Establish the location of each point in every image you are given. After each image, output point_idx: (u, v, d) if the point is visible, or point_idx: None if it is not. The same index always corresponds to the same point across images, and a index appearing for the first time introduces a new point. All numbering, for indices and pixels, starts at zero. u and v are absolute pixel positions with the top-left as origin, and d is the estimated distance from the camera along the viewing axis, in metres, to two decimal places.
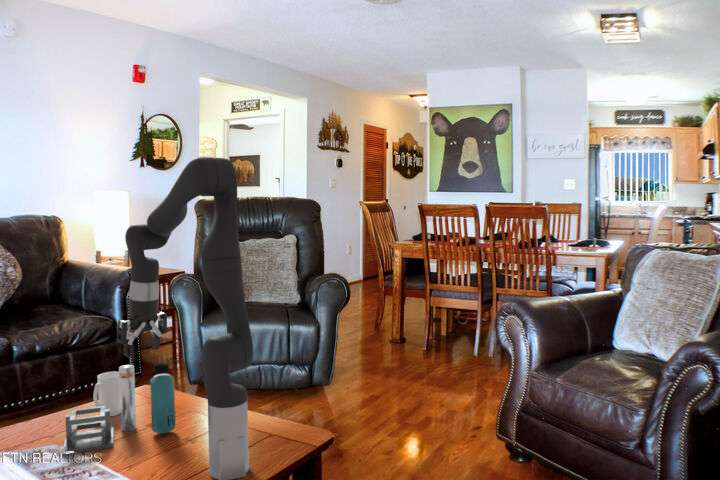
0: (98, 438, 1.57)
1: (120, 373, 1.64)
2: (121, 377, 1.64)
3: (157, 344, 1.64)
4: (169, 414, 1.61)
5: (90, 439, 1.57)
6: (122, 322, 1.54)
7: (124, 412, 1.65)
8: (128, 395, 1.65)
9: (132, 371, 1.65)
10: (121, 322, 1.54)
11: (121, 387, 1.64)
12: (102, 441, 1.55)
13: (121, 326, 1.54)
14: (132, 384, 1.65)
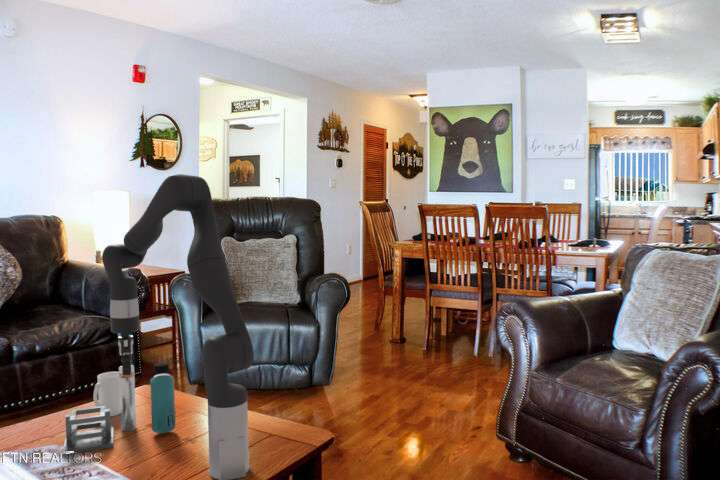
0: (98, 438, 1.57)
1: (120, 373, 1.64)
2: (121, 377, 1.64)
3: None
4: (169, 414, 1.61)
5: (90, 439, 1.57)
6: (127, 340, 1.59)
7: (124, 412, 1.65)
8: (128, 395, 1.65)
9: (132, 371, 1.65)
10: (125, 340, 1.59)
11: (121, 387, 1.64)
12: (102, 441, 1.55)
13: (127, 344, 1.59)
14: (132, 384, 1.65)
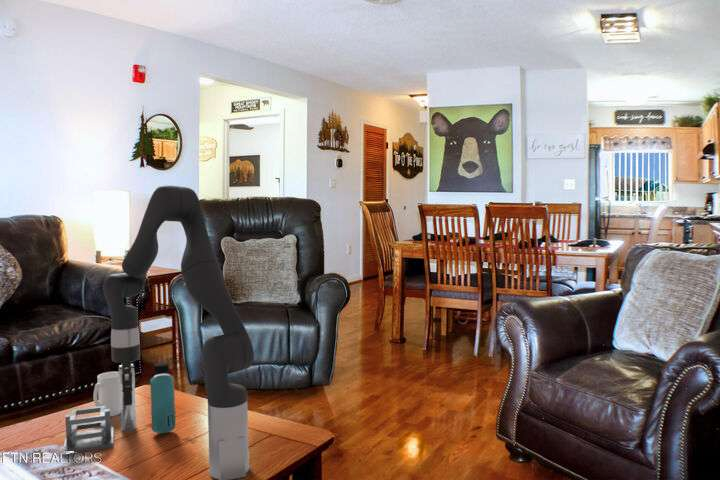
0: (98, 438, 1.57)
1: None
2: None
3: None
4: (169, 414, 1.61)
5: (90, 439, 1.57)
6: (128, 375, 1.60)
7: (124, 412, 1.65)
8: None
9: None
10: (126, 375, 1.60)
11: (121, 387, 1.64)
12: (102, 441, 1.55)
13: (128, 378, 1.60)
14: (132, 384, 1.65)
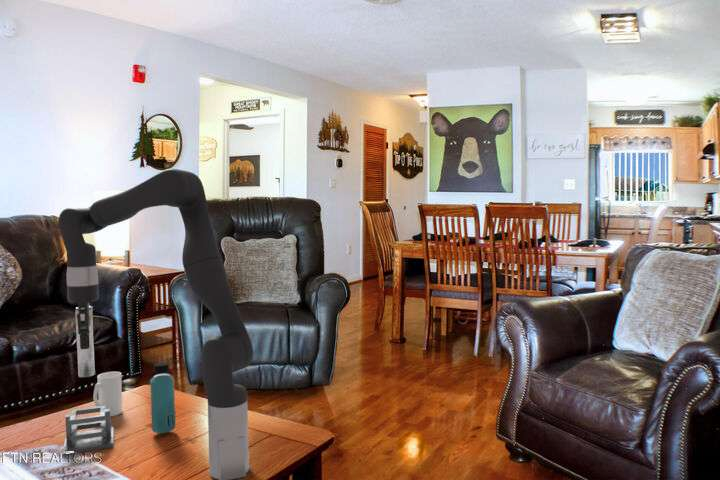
0: (98, 438, 1.57)
1: None
2: None
3: None
4: (169, 414, 1.61)
5: (90, 439, 1.57)
6: (84, 315, 1.49)
7: (81, 357, 1.54)
8: None
9: None
10: (82, 315, 1.49)
11: None
12: (102, 441, 1.55)
13: (84, 319, 1.49)
14: (90, 327, 1.55)
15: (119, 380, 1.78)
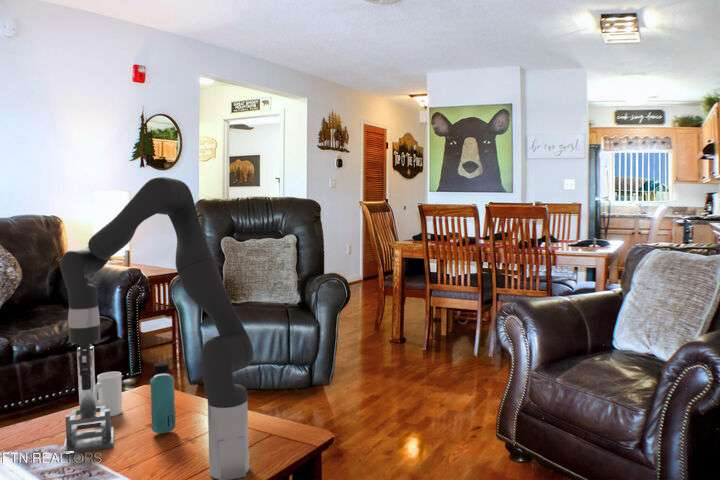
0: (98, 438, 1.57)
1: None
2: None
3: None
4: (169, 414, 1.61)
5: (90, 439, 1.57)
6: (85, 357, 1.50)
7: (82, 397, 1.55)
8: None
9: None
10: (83, 357, 1.50)
11: (79, 370, 1.55)
12: (102, 441, 1.55)
13: (85, 361, 1.50)
14: (91, 367, 1.55)
15: (119, 380, 1.78)
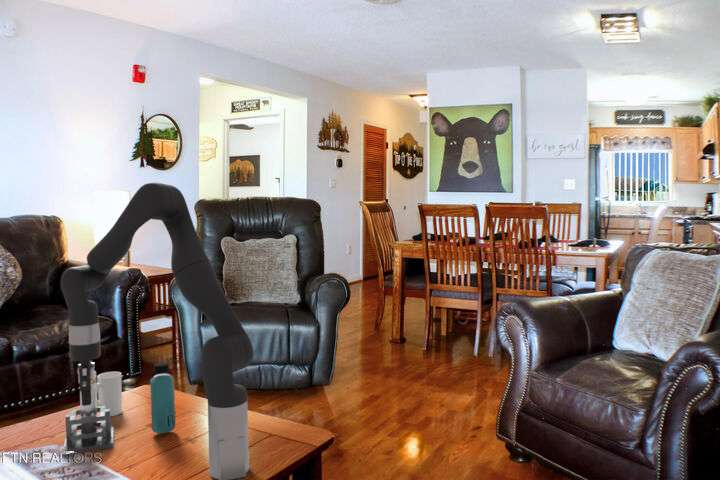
0: (98, 438, 1.57)
1: None
2: None
3: None
4: (169, 414, 1.61)
5: None
6: (86, 369, 1.50)
7: None
8: None
9: (93, 377, 1.56)
10: (84, 369, 1.50)
11: None
12: (102, 441, 1.55)
13: (86, 373, 1.50)
14: (93, 391, 1.56)
15: (119, 380, 1.78)
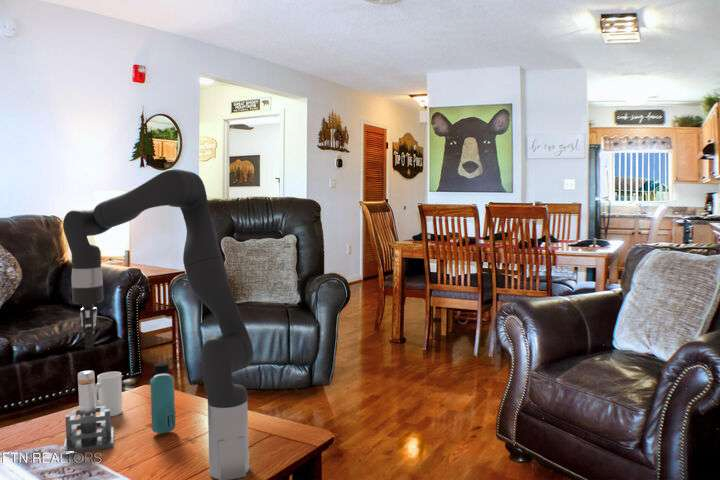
0: (98, 438, 1.57)
1: (79, 379, 1.55)
2: (80, 384, 1.55)
3: (94, 334, 1.61)
4: (169, 414, 1.61)
5: None
6: (89, 310, 1.50)
7: None
8: (88, 403, 1.55)
9: (92, 377, 1.56)
10: (87, 311, 1.50)
11: (80, 394, 1.55)
12: (102, 441, 1.55)
13: (89, 315, 1.50)
14: (92, 391, 1.56)
15: (119, 380, 1.78)
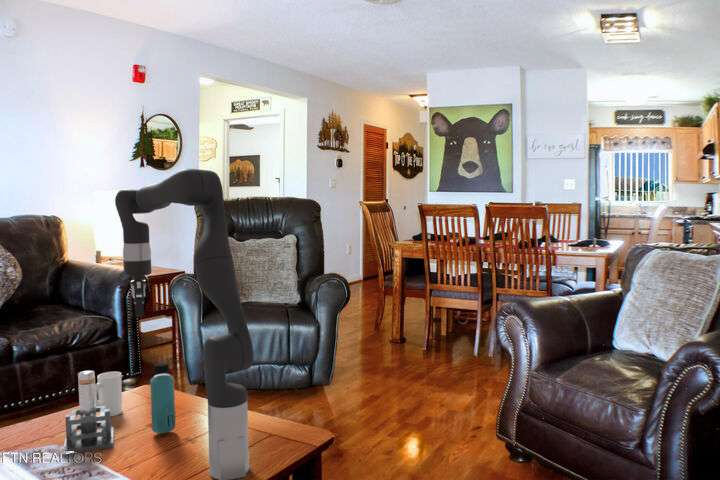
0: (98, 438, 1.57)
1: (79, 379, 1.55)
2: (80, 384, 1.55)
3: None
4: (169, 414, 1.61)
5: None
6: (140, 282, 1.63)
7: None
8: (88, 403, 1.55)
9: (92, 377, 1.56)
10: (138, 282, 1.63)
11: (80, 394, 1.55)
12: (102, 441, 1.55)
13: (140, 285, 1.63)
14: (92, 391, 1.56)
15: (119, 380, 1.78)
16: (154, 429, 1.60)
